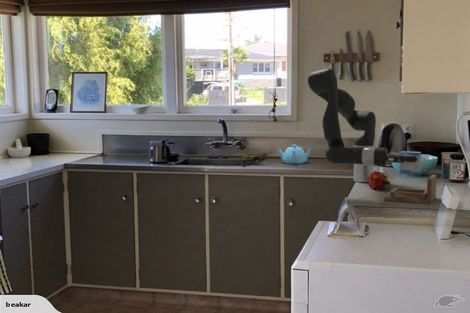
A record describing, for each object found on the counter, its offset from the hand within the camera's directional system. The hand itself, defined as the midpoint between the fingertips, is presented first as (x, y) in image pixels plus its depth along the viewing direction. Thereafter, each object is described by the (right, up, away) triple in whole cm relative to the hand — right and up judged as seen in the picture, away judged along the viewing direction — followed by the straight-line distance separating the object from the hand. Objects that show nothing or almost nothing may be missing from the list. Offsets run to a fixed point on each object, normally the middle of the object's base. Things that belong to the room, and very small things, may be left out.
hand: (417, 158), depth 242 cm
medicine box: (-2, -6, +2) cm, 7 cm away
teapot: (-38, -3, +117) cm, 123 cm away
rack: (-2, -16, +3) cm, 17 cm away
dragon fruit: (-9, -14, +28) cm, 33 cm away
